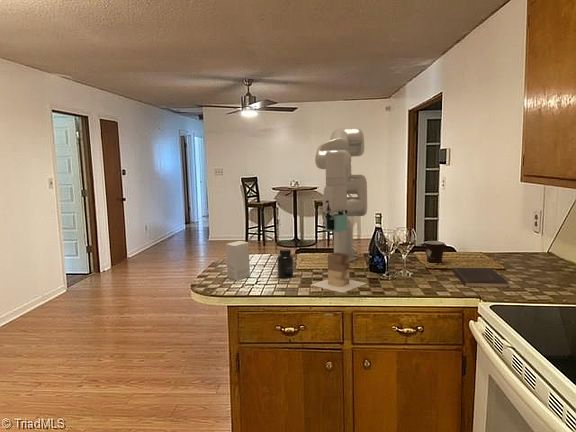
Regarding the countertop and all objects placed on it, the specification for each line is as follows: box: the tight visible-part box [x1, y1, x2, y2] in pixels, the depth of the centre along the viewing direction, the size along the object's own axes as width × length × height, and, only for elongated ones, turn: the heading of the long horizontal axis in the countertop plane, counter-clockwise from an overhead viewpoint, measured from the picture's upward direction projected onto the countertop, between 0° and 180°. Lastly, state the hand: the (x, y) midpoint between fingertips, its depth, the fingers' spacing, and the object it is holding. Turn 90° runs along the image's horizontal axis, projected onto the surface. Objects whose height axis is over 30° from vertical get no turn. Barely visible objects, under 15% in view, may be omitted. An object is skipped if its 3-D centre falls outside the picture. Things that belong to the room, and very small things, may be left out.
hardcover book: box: [452, 267, 510, 288], centre depth 180 cm, size 16×23×2 cm
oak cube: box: [327, 268, 350, 287], centre depth 174 cm, size 6×6×6 cm
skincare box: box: [225, 240, 251, 281], centre depth 191 cm, size 8×7×16 cm
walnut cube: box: [327, 252, 350, 272], centre depth 173 cm, size 6×6×6 cm
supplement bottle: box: [277, 248, 294, 279], centre depth 190 cm, size 7×7×12 cm
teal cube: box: [324, 214, 348, 233], centre depth 171 cm, size 6×6×6 cm
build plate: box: [310, 278, 368, 294], centre depth 174 cm, size 16×16×1 cm
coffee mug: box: [422, 240, 445, 264], centre depth 209 cm, size 12×9×10 cm
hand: (336, 228), depth 172 cm, fingers closed on teal cube, 6 cm apart
